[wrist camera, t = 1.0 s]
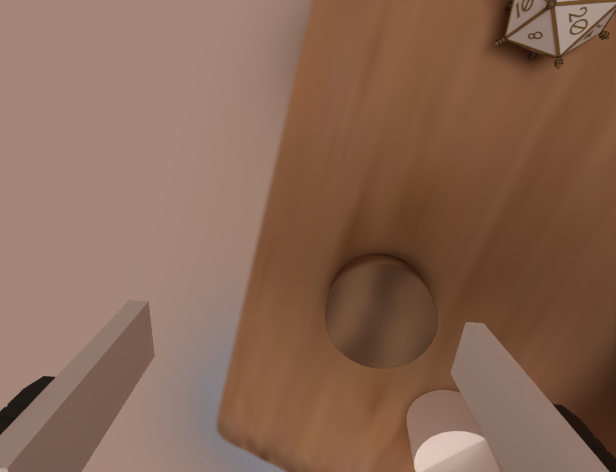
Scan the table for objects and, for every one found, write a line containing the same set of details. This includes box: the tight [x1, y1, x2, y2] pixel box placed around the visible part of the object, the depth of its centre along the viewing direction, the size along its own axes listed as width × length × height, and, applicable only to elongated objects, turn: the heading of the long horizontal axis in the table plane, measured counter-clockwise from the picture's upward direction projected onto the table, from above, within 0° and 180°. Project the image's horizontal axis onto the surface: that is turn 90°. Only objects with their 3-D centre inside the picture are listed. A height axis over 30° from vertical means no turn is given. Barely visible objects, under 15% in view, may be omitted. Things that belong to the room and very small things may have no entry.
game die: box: [494, 0, 616, 69], centre depth 25 cm, size 9×8×10 cm
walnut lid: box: [325, 254, 438, 369], centre depth 35 cm, size 11×11×5 cm
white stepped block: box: [407, 390, 505, 472], centre depth 34 cm, size 9×9×12 cm
